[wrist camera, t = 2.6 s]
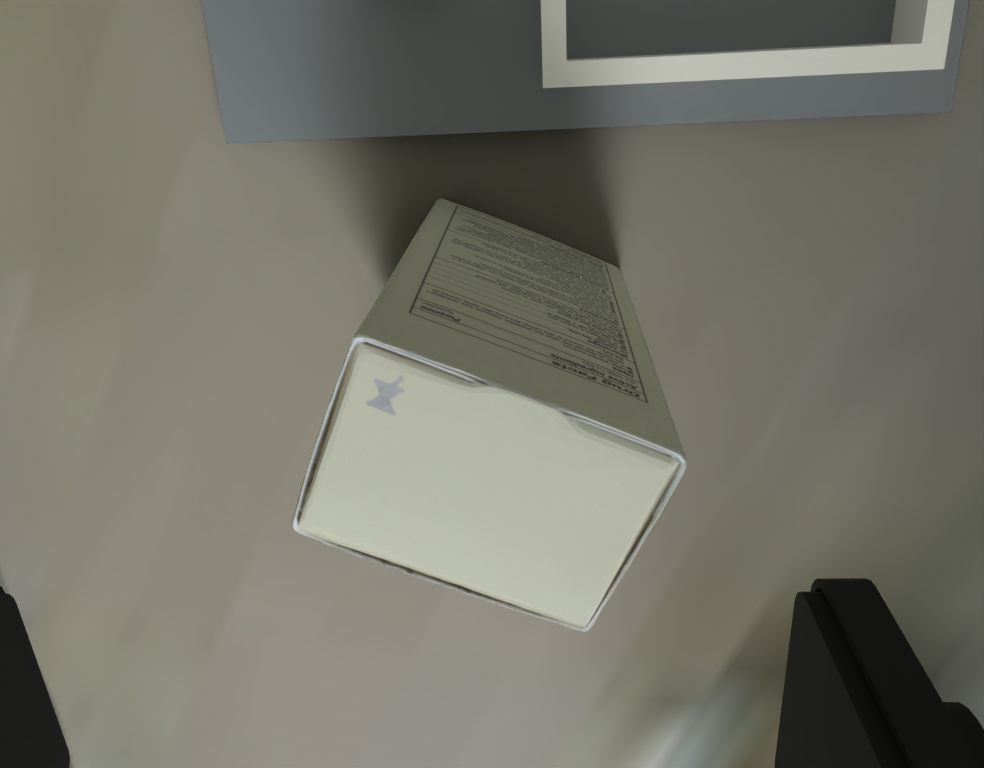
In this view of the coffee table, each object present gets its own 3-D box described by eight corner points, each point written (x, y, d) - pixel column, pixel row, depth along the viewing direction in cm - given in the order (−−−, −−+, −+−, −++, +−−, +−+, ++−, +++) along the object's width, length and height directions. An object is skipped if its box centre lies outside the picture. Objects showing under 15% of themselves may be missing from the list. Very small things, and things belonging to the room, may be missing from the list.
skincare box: (392, 318, 26) (266, 530, 15) (438, 190, 24) (333, 322, 13) (577, 390, 27) (590, 649, 15) (635, 270, 25) (696, 462, 14)
